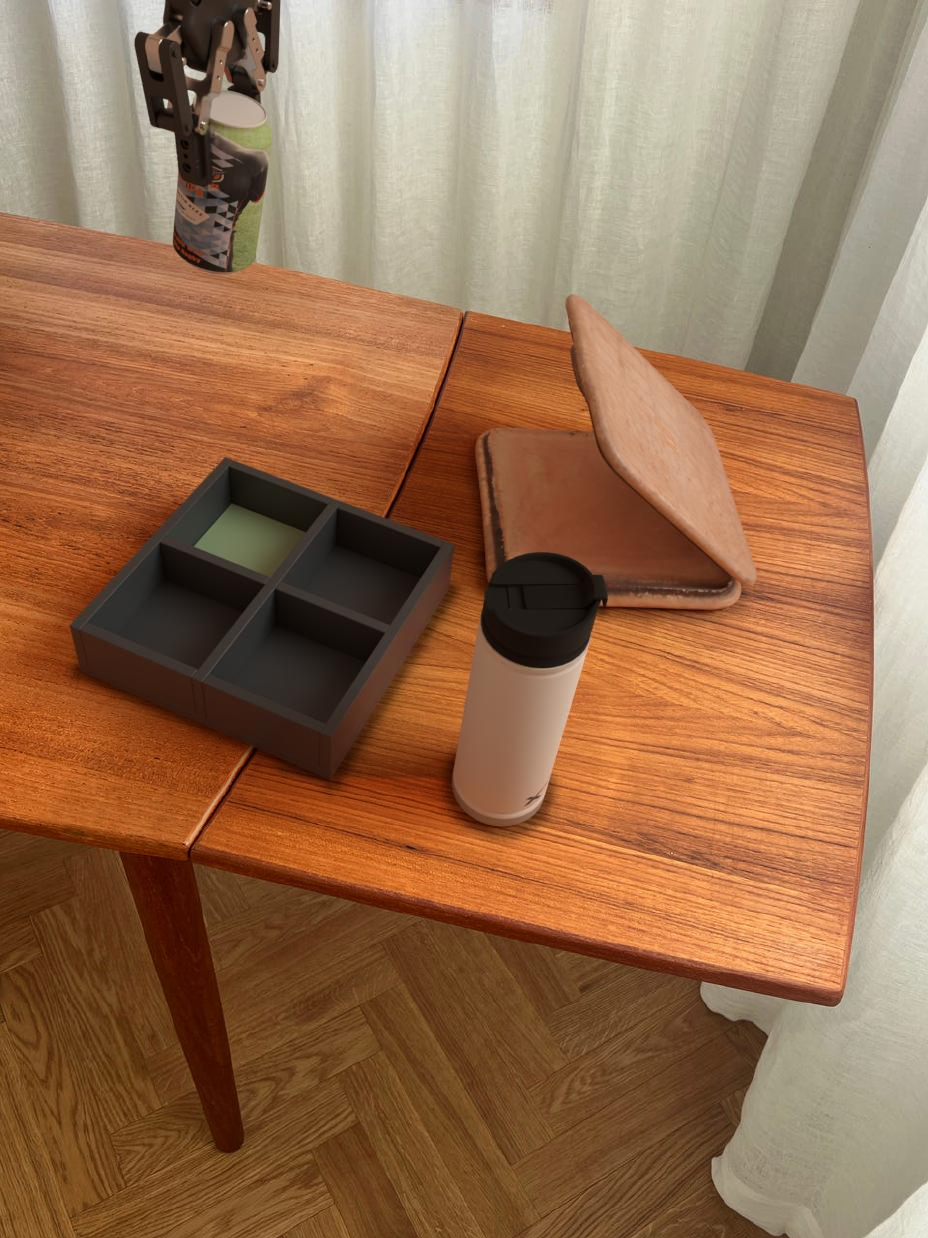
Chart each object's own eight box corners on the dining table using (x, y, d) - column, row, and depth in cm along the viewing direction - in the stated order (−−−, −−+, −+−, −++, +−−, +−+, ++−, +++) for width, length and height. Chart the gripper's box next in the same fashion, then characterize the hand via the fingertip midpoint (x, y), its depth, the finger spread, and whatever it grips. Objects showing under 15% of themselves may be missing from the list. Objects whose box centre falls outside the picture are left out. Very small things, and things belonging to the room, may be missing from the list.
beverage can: (168, 242, 84) (152, 81, 75) (264, 235, 86) (260, 77, 77) (182, 289, 80) (167, 125, 71) (283, 280, 82) (280, 120, 73)
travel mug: (554, 828, 73) (617, 630, 58) (454, 829, 72) (491, 628, 57) (543, 748, 77) (600, 544, 62) (448, 748, 76) (482, 541, 61)
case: (753, 617, 87) (824, 461, 75) (487, 610, 84) (516, 447, 72) (702, 446, 100) (756, 290, 88) (471, 435, 98) (494, 274, 86)
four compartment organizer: (80, 672, 77) (68, 625, 73) (228, 504, 89) (225, 456, 85) (330, 780, 73) (331, 737, 69) (448, 589, 86) (455, 544, 82)
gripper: (211, -157, 70) (228, 108, 83) (74, -97, 61) (116, 191, 74) (317, -130, 69) (318, 135, 81) (193, -66, 60) (215, 222, 72)
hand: (222, 161), depth 78 cm, fingers closed on beverage can, 6 cm apart
